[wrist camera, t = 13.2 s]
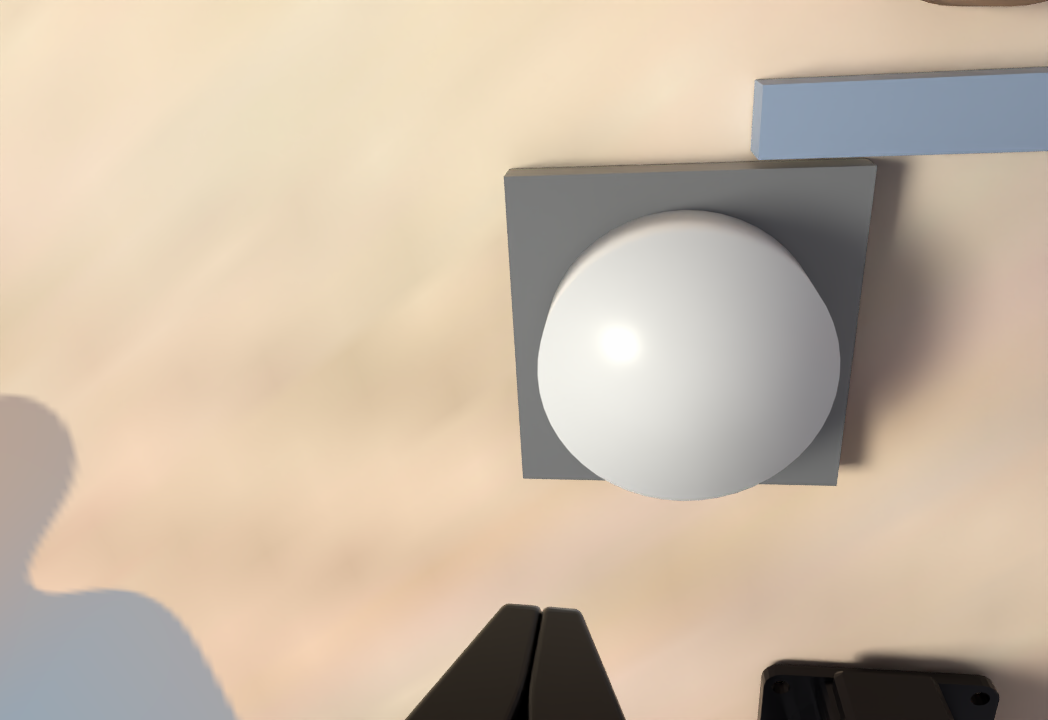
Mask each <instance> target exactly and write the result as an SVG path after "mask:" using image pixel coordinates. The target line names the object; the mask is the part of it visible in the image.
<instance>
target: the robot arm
mask: <svg viewBox="0 0 1048 720" xmlns="http://www.w3.org/2000/svg"><path fill="white" fill-rule="evenodd" d="M777 681H784V682H783V683H775V682H777ZM980 692H981V693H980ZM976 693H979V694H976ZM998 702H999V694H998V692H997V690H996V688H995V686H994V685H993V683H992V681H991V680H990V679H988V678H987V677H985V676H980V675H969V674H950V673H931V672H913V671H894V670H876V669H857V668H839V667H820V666H802V665H783V664H778V665H772V666H770V667H767V668H766V669H765V670H764V671H763V673H762V676H761V687H760V698H759V709H758V720H994V718H995V714H996V710H997V706H998ZM405 720H626V719H625V717H624V714H623V712H622V710H621V707H620V705H619V702H618V700H617V697H616V695H615V693H614V690H613V688H612V685H611V683H610V680H609V678H608V676H607V673H606V671H605V668H604V666H603V664H602V661H601V659H600V656H599V654H598V651H597V649H596V647H595V644H594V642H593V639H592V637H591V634H590V632H589V630H588V627H587V625H586V622H585V620H584V617H583V615H582V614H581V612H580V611H578V610H577V609H569V608H557V607H547V608H545V609H544V610H543V612H542V611H541V609H540V608H539V607H538V606H533V605H520V604H506V605H504V606H502V607H501V609H500V610H499V611H498V612H497V613H496V614H495V616H494V617H493V618H492V619H491V620H490V621H489V622H488V624H487V625H486V626H485V627H484V628H483V629H482V631H481V632H480V633H479V634H478V635H477V636H476V638H475V639H474V640H473V641H472V642H471V643H470V645H469V646H468V647H467V648H466V649H465V650H464V652H463V653H462V654H461V655H460V656H459V657H458V659H457V660H456V661H455V662H454V663H453V664H452V666H451V667H450V668H449V669H448V670H447V671H446V673H445V674H444V675H443V676H442V677H441V678H440V680H439V681H438V682H437V683H436V684H435V685H434V687H433V688H432V689H431V690H430V691H429V692H428V694H427V695H426V696H425V697H424V698H423V699H422V701H421V702H420V703H419V704H418V705H417V706H416V708H415V709H414V710H413V711H412V712H411V713H410V715H409V716H408V717H407V718H406V719H405Z"/></svg>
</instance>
